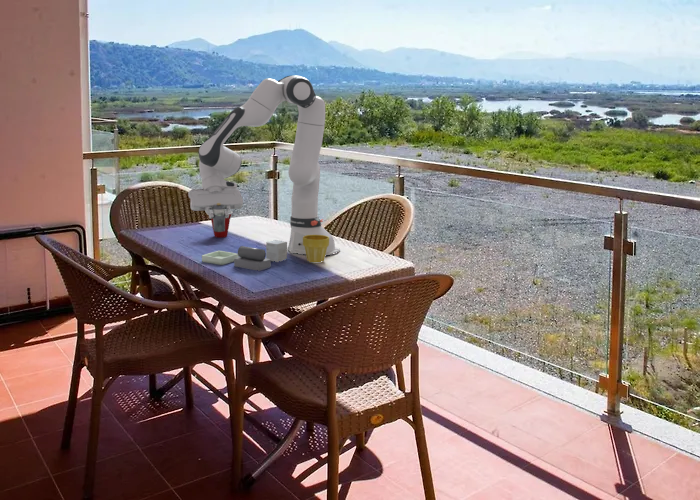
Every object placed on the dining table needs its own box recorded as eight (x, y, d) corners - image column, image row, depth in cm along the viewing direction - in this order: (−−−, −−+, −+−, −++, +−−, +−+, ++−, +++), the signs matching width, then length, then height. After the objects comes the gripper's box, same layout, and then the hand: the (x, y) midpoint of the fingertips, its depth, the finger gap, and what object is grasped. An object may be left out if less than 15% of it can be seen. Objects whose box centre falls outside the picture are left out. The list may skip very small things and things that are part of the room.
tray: (238, 259, 266) (238, 253, 265) (221, 265, 258) (221, 258, 257) (219, 256, 271) (219, 250, 270) (201, 261, 262) (201, 255, 262)
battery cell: (227, 230, 262) (227, 203, 260) (219, 232, 259) (219, 204, 256) (218, 229, 265) (218, 201, 262) (211, 230, 261) (210, 203, 258)
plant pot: (328, 258, 272) (329, 234, 270) (328, 264, 262) (329, 239, 260) (303, 257, 272) (303, 234, 269) (302, 264, 261) (302, 239, 259)
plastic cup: (230, 239, 303) (230, 212, 300) (206, 238, 303) (206, 212, 300) (235, 234, 314) (234, 208, 311) (212, 233, 314) (211, 208, 311)
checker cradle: (270, 266, 256) (270, 248, 255) (259, 270, 250) (259, 251, 249) (246, 262, 262) (245, 244, 261) (234, 266, 256) (233, 247, 255)
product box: (265, 260, 267) (265, 242, 265) (275, 257, 272) (275, 239, 270) (277, 262, 264) (277, 244, 262) (287, 259, 268) (287, 241, 267)
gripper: (188, 184, 260) (192, 213, 254) (240, 183, 268) (246, 211, 261) (186, 194, 265) (191, 223, 259) (238, 192, 273) (243, 220, 266)
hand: (219, 217), depth 260 cm, fingers closed on battery cell, 4 cm apart
